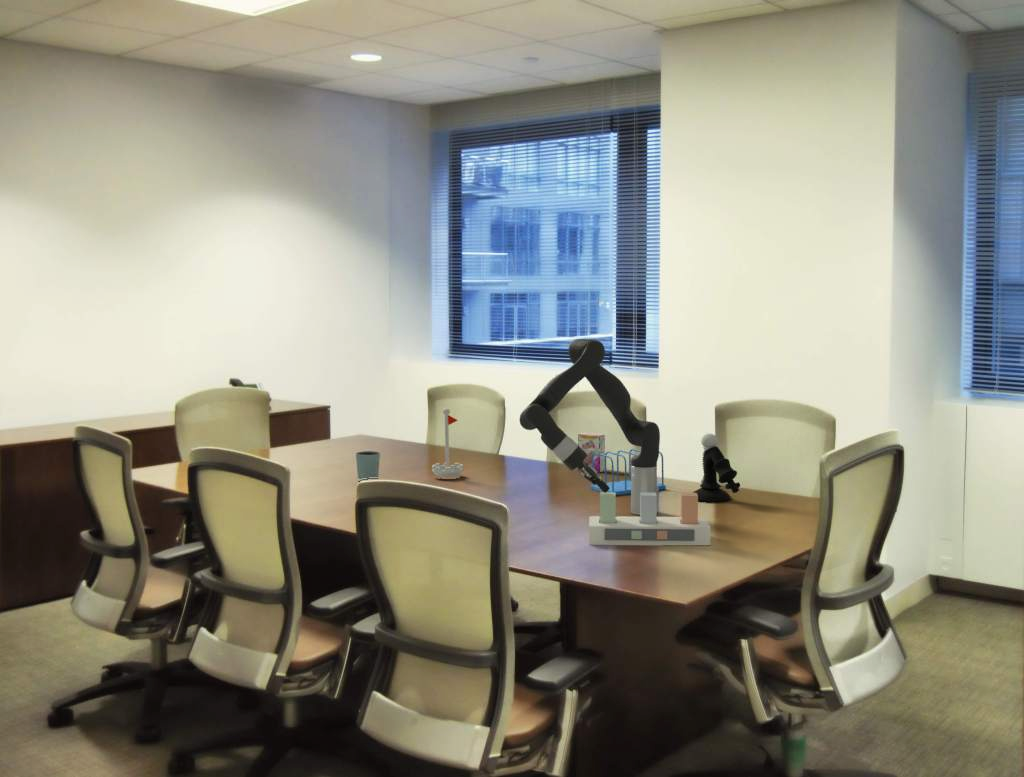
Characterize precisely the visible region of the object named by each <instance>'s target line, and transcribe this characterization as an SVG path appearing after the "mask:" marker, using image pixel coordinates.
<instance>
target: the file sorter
mask: <svg viewBox="0 0 1024 777" xmlns="http://www.w3.org/2000/svg"><path fill="white" fill-rule="evenodd" d="M633 451H634V452H638V453H641V450H639V449H635V448H632V449H630V450H629V451H626V450H622V449H621V450H618V451H617V453H616V452H612V451H606V452H605V455H602V454H599V453H593V455H592V467H593V468H594V455H595V454H596V455H600V456H604V457H605V471H604V482H605V483H606V484H607V485H608V486H609V490H608V491H607V492H615V493H616V496H621V495H629V494H630V495H631V459H632V456H637V455H638V454H636V453H633ZM620 453H624V454H628V469H629V470H628V472H629V473H628V474H629V476H628V478H629V479H627V459H626V457H625V456H624V455H623V454H620ZM608 454H611V455H614V456H615V455H616V477H617V478H616V480H617V481H615V480H614V479H615V478H614V469H615V468H614V460H613V459H612V457H611V456H609V455H608ZM631 455H632V456H631ZM659 455H660V456H661V483H659V482H657V486H658V487H659V491H661V490H663V489H664V490H667V485H666V484H664V476H665V475H664V455H663V453H662V452H661V451H660V450H659ZM619 457H622V458H623V459H624V480H619V479H620V477H619V475H620V474H619V471H620V470H619V467H620V466H619V460H620V459H619ZM607 459H610V461H611V481H610V482H607V480H608V479H607V478H608V477H607ZM590 490H593V491H597V492H599V493H600V492H603V491H602V490H601V489H600V488H599V487H598V486H597V485H594V484H593V483H592V484H590Z"/></svg>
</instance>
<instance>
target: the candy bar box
mask: <svg viewBox="0 0 1024 777" xmlns="http://www.w3.org/2000/svg"><path fill="white" fill-rule="evenodd" d="M605 438H606V434H602V433H600V434H599V433H592V432H590V433H589V432H581V433H578V434H577V445H578V446H579V447H581V448H582V449H583V450H584V451H585V452H586V453H587V457H586V458H585V459H584V461H585V462H586V463H588V462H589V463H590V464H591V465H592V455H593V453H599V454H602V455H605V453H606V452H605V451H606V450H605V449H606V445H605V443H606V440H605ZM594 469H595V470H596V471H597V473H598V474H600V472H601V473H603V472H605V457H604V456H600V455H596V454H595V455H594ZM577 470H578V471H579V469H578V468H577Z"/></svg>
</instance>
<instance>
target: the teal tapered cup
mask: <svg viewBox="0 0 1024 777" xmlns="http://www.w3.org/2000/svg"><path fill="white" fill-rule="evenodd" d="M355 458H356V459H355V460H356V471H357V479H358V478H359V479H362V478H367V479H362V480H368V479H378V480H379V474H380V473H379V471H380V459H381V453H380V452H379V451H374V450H371V451H370V450H363V451H358V452H356V453H355ZM369 477H378V478H369ZM362 480H360V481H362Z"/></svg>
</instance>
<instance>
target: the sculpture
mask: <svg viewBox="0 0 1024 777" xmlns="http://www.w3.org/2000/svg"><path fill="white" fill-rule="evenodd" d="M718 443H719V440H718V437H717V436H716V435H715V434H713V433H706V434H704V435H703V436H702V437H701V445H702V448H703V452H702V459H701V460H702V461H701V462H702V463H701V465H702V471H703V476H702V479H701V480H700V483H701V484H700V485H699V487H700V488H698V489H696V490H695V491H693V492H692V493H697V495H698V503H702V502H706V503H705V504H720V503H727V502H730V501H731V498H732V497H731V495H730V494H729V493H728V492H727V491H726V490H731V491H732V493H733V494H737V492H739V491H740V487H741V483H740V482H735V481H734V479H735V478H736V477H737V475H738V472H737V470H735V469H733V468H732V466H731V463H730V460H729V458H725V456H724V454H723V452H722V451H721V449H720V448H719V446H718ZM717 474H718V477H717ZM717 478H718V480H717ZM718 482H719V483H720V484H725V489H726V490H724V489H722V485H720V484H719V483H718Z"/></svg>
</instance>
